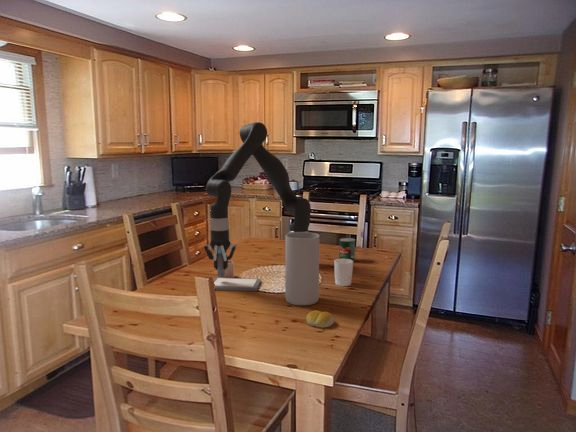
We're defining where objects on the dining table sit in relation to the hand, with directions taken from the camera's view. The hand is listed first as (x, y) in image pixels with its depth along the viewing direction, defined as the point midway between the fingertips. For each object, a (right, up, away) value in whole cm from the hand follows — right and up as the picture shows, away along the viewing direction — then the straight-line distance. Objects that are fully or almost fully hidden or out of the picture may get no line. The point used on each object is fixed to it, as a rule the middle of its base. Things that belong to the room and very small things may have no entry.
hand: (221, 268), depth 181 cm
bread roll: (+38, -14, -38) cm, 56 cm away
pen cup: (+1, -5, +12) cm, 13 cm away
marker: (0, -3, 0) cm, 3 cm away
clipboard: (+6, -7, 0) cm, 9 cm away
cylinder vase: (+33, -10, -17) cm, 39 cm away
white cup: (+51, -7, +3) cm, 52 cm away
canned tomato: (+58, -1, +41) cm, 71 cm away
